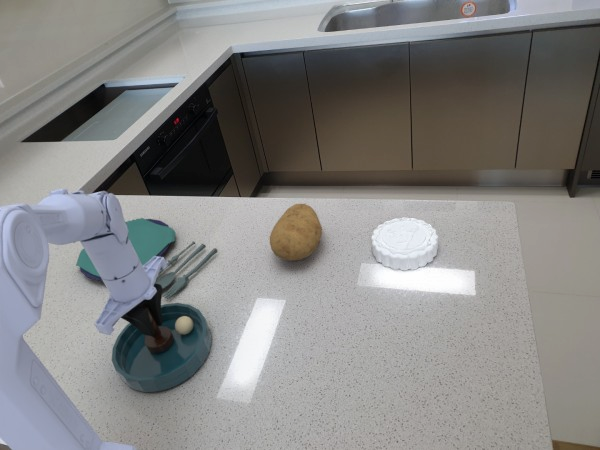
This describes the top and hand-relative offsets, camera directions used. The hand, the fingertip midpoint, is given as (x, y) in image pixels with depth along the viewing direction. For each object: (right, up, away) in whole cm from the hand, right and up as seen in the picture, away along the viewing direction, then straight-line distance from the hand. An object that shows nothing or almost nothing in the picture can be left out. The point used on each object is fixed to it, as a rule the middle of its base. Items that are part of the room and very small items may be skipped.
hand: (152, 328), depth 74 cm
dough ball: (+4, 0, +3) cm, 5 cm away
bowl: (+2, -4, +1) cm, 5 cm away
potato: (+24, +12, +17) cm, 32 cm away
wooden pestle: (+1, -3, +2) cm, 3 cm away
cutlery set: (-9, +9, +23) cm, 26 cm away
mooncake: (+43, +12, +12) cm, 46 cm away
